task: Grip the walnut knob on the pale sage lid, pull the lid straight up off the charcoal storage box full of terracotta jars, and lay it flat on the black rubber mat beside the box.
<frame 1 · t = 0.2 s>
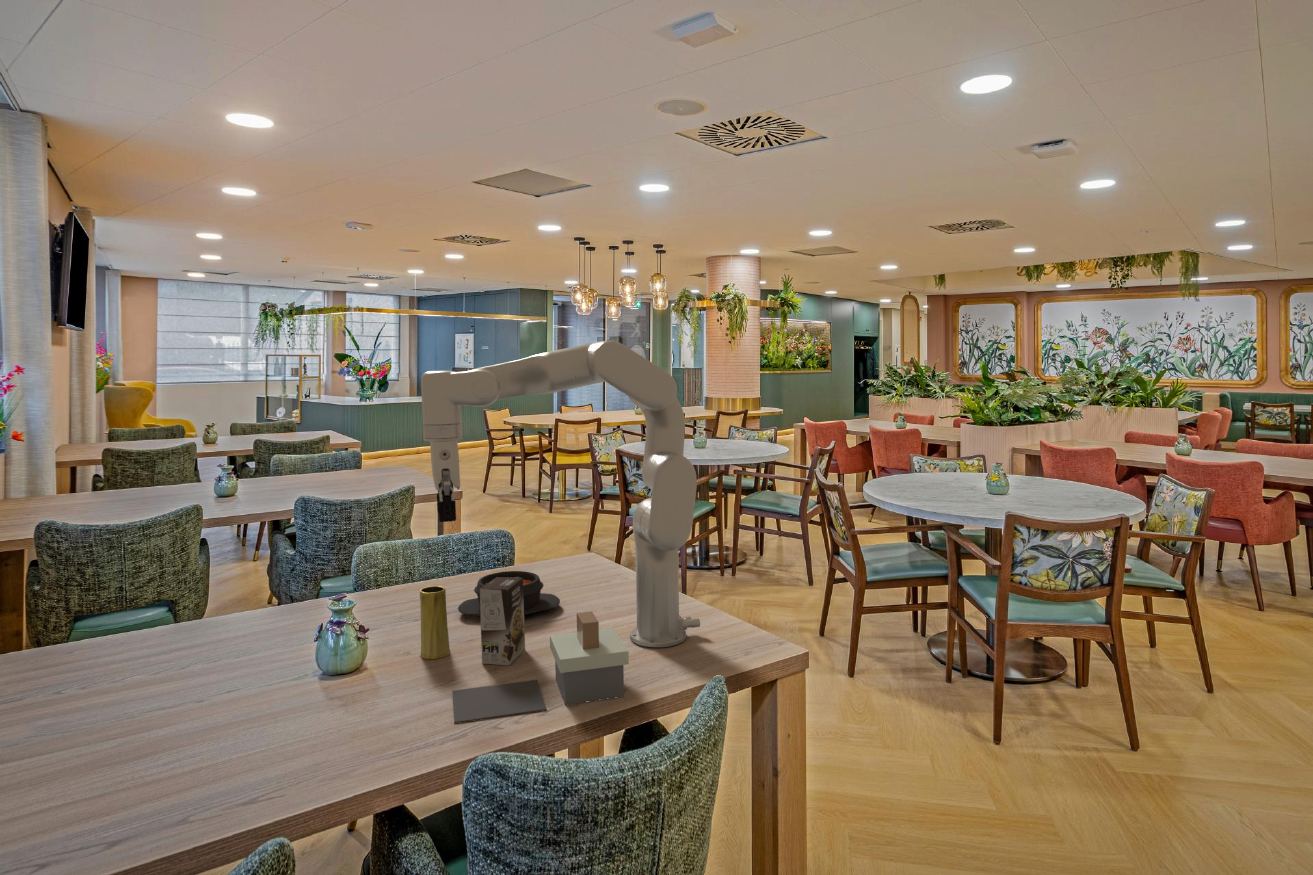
hand: (446, 516, 154), 31 cm above the table, tool pointing down, fingers open, 9 cm apart
vase: (435, 655, 163), on the table
coffee box: (504, 657, 161), on the table
storage box: (589, 688, 145), on the table
lid: (588, 648, 144), point 8 cm above the table, touching storage box
casserole: (509, 612, 190), on the table
mat: (498, 701, 140), on the table
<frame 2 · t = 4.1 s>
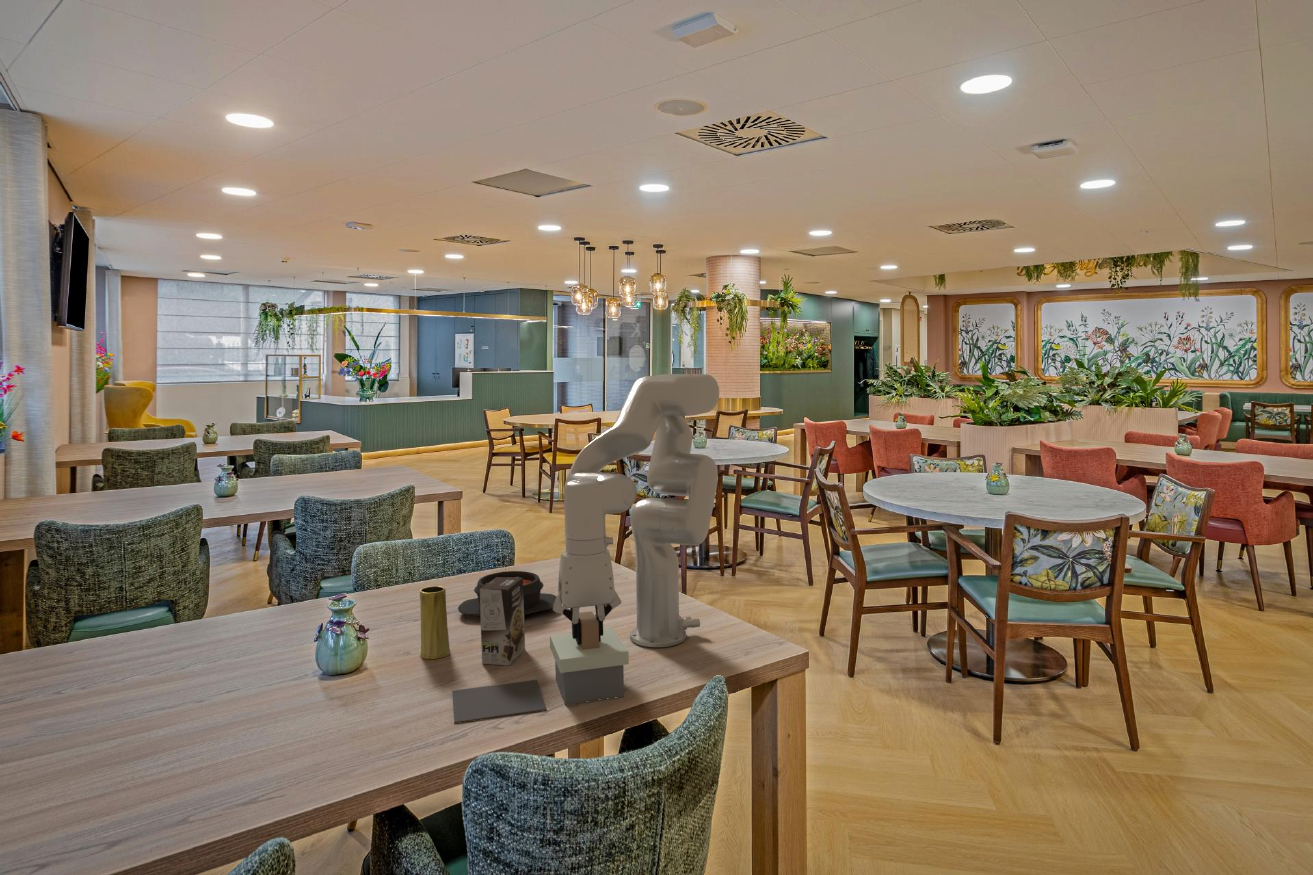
hand: (587, 639, 144), 10 cm above the table, tool pointing down, fingers closed on lid, 3 cm apart
lid: (588, 648, 144), point 8 cm above the table, touching gripper, storage box
everything else where it was.
when the fingers open (5 cm above the table, at t = 12.2 s): lid drops 1 cm, resting on mat.
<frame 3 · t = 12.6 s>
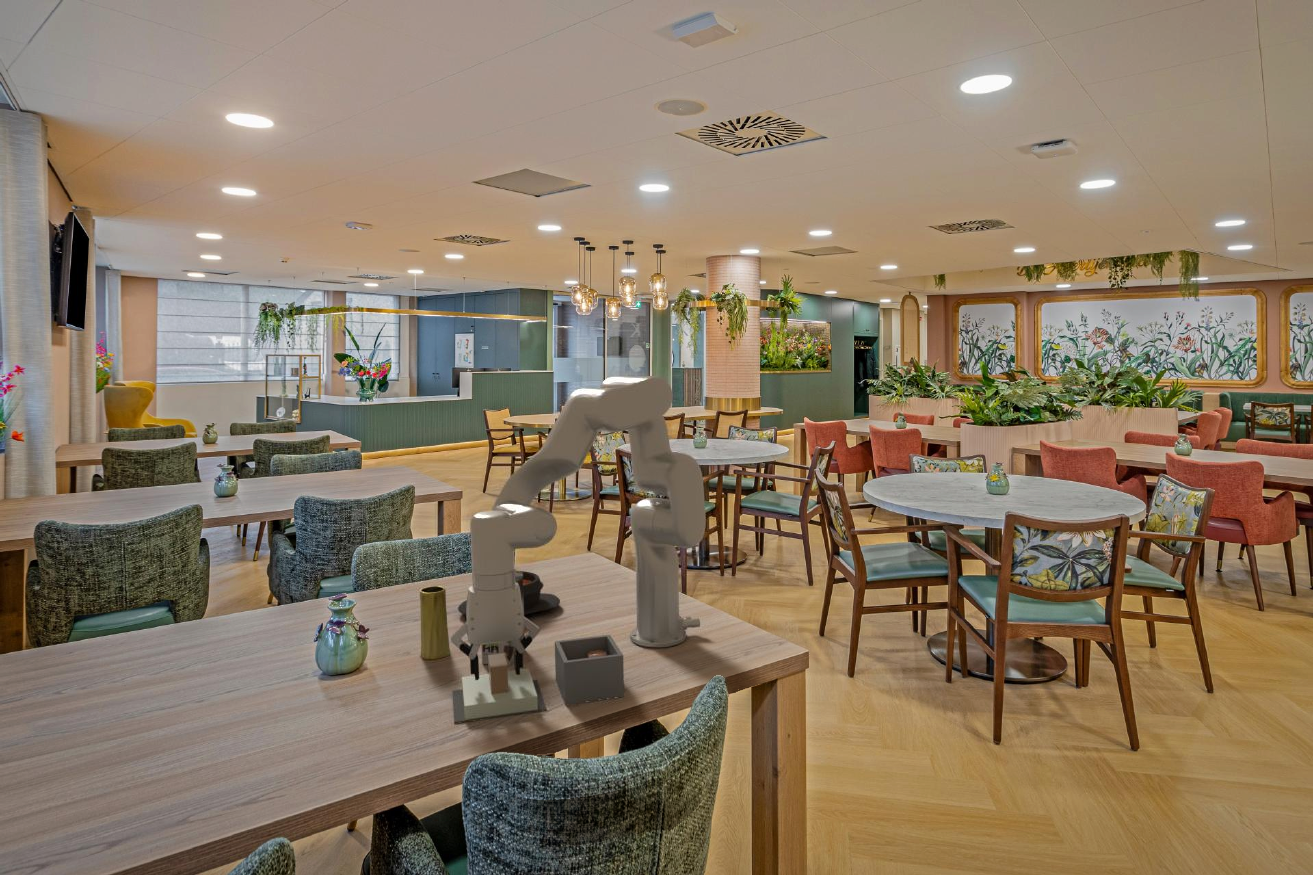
hand: (497, 673, 139), 5 cm above the table, tool pointing down, fingers open, 6 cm apart
lid: (498, 691, 140), point 2 cm above the table, touching mat
everything else where it was.
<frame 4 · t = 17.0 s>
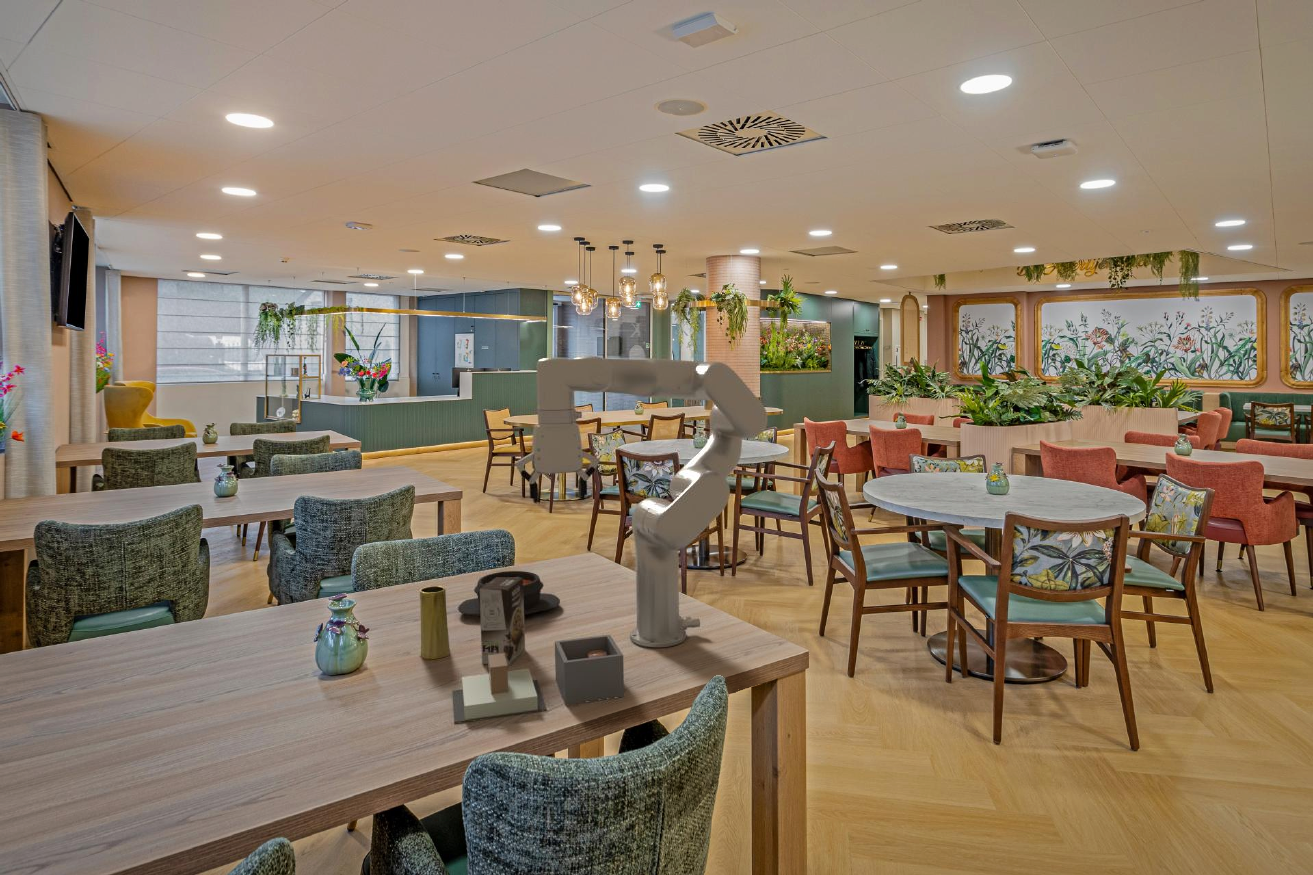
hand: (558, 500, 158), 33 cm above the table, tool pointing down, fingers open, 9 cm apart
nothing on the table moved.
at the end: lid inside the target area on the mat (0.1 cm from its centre), point 1.8 cm above the mat's base; lid tilted 0°; the gripper is holding nothing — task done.
